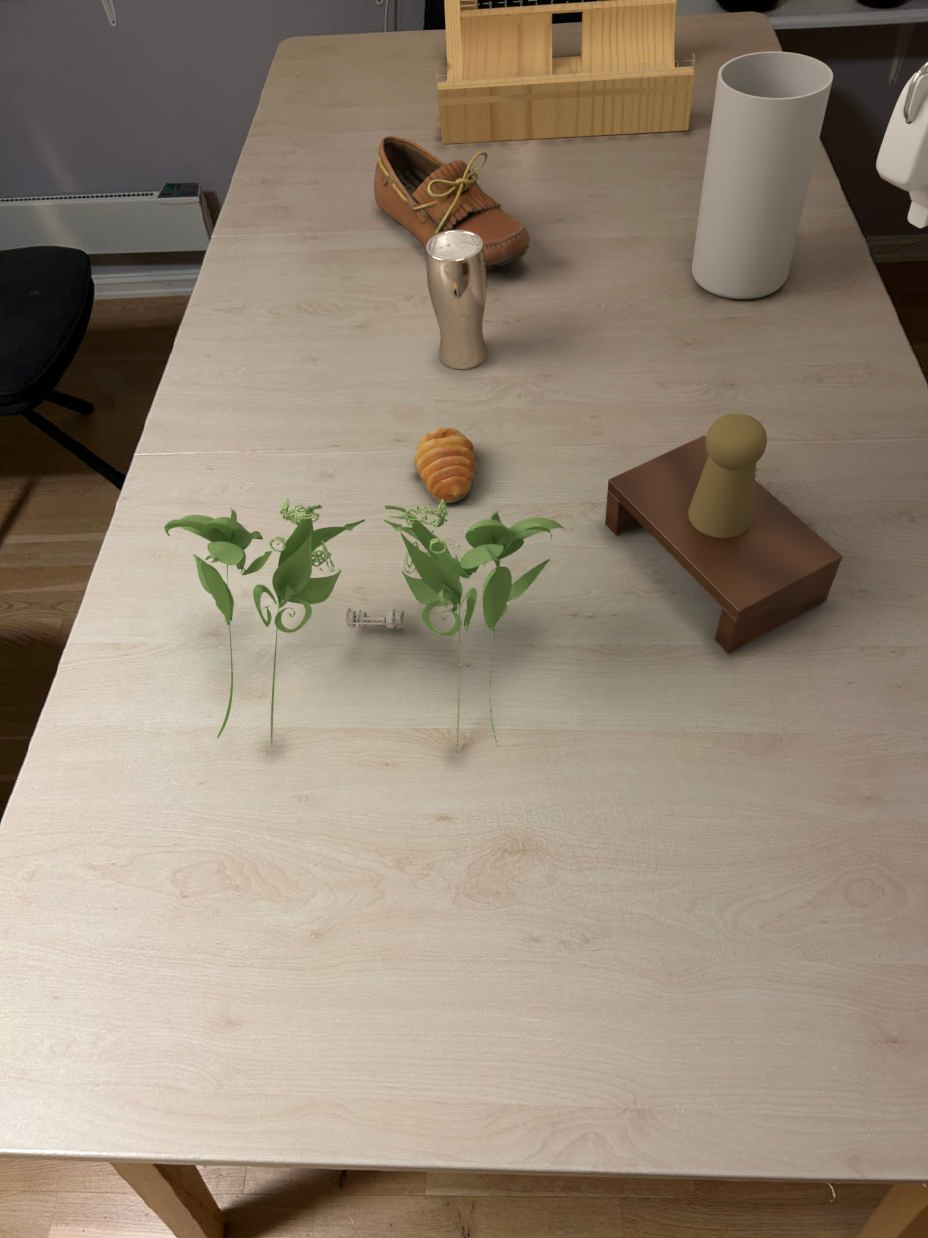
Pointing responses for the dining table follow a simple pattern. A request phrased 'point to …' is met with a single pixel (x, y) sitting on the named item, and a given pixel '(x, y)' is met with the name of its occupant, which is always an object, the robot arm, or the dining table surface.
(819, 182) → the dining table surface
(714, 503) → the olive yellow pawn
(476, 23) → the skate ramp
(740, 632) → the shelf
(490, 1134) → the dining table surface
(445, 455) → the pastry
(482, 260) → the beer glass
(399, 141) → the moccasin
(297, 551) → the plant cuttings
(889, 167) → the robot arm
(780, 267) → the cylinder vase
